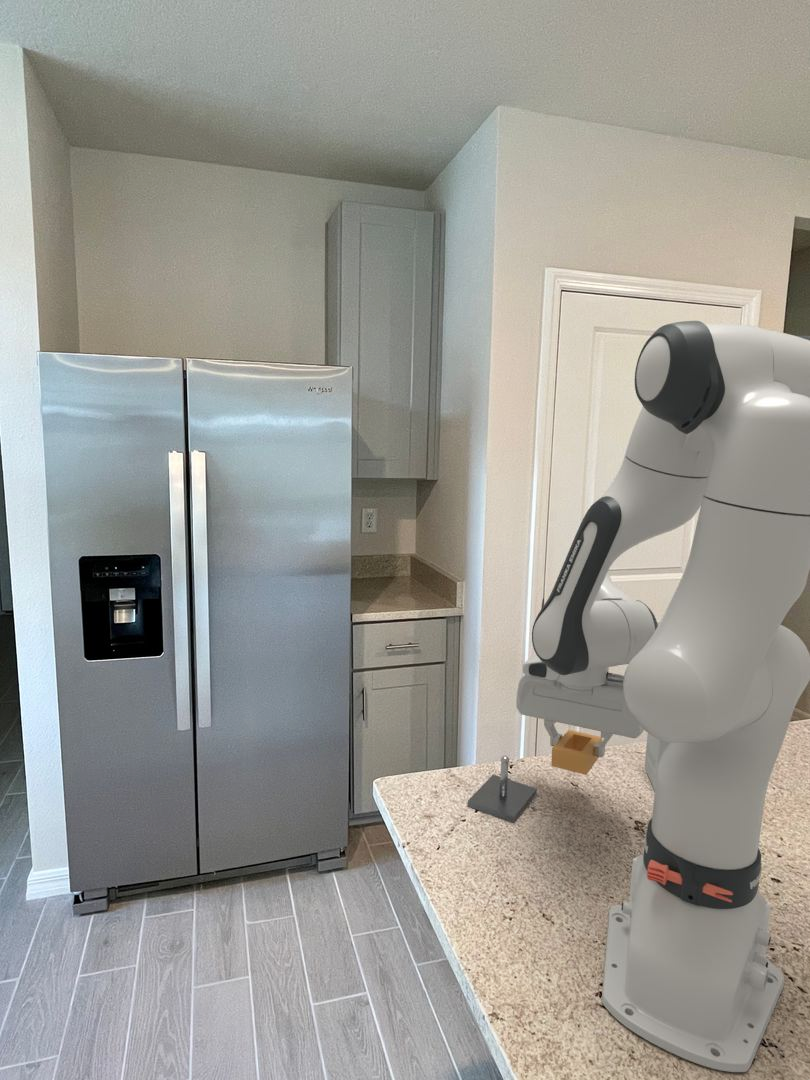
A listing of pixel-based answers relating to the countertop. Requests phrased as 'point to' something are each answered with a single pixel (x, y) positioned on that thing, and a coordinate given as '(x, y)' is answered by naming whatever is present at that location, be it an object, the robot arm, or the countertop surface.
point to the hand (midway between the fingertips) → (577, 750)
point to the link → (575, 752)
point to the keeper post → (502, 795)
